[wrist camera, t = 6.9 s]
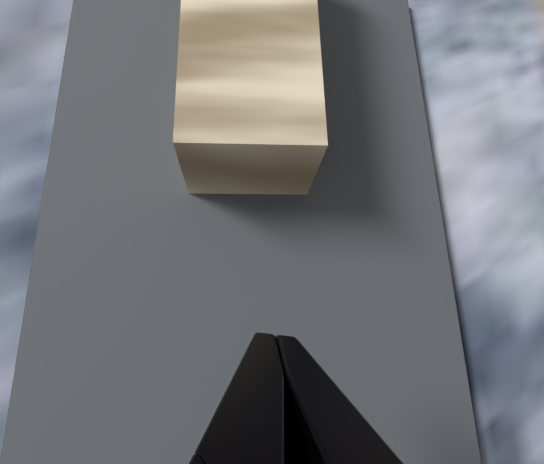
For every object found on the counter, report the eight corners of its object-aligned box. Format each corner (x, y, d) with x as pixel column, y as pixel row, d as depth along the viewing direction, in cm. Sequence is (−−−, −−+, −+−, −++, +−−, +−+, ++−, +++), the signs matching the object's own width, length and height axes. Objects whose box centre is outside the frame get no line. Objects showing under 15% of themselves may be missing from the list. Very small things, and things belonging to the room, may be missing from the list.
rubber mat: (473, 461, 18) (481, 465, 17) (4, 484, 16) (-4, 488, 16) (403, 5, 25) (406, -3, 25) (80, -11, 24) (76, -20, 23)
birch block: (327, 145, 16) (309, -105, 20) (172, 142, 15) (187, -114, 19) (307, 194, 20) (295, -16, 24) (188, 193, 20) (197, -21, 24)
